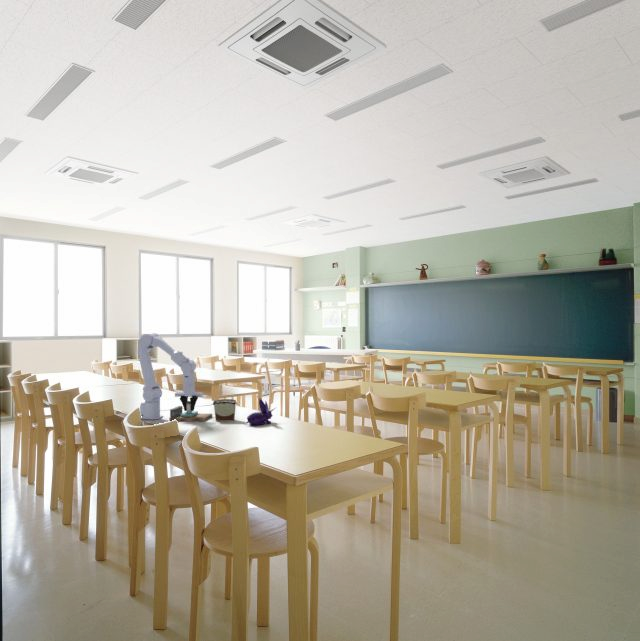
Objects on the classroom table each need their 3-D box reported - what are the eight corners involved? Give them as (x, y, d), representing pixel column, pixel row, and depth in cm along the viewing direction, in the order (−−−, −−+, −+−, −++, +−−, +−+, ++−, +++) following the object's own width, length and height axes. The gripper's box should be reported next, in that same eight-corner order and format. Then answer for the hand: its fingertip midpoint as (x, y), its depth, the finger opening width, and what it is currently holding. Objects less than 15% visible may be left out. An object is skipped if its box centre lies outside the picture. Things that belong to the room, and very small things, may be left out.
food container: (240, 418, 250) (239, 398, 250) (236, 420, 244) (236, 400, 243) (216, 418, 251) (216, 398, 251) (212, 420, 245) (212, 400, 245)
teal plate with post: (180, 416, 247) (180, 402, 247) (187, 413, 255) (186, 400, 255) (191, 416, 246) (191, 402, 246) (197, 413, 254) (197, 400, 254)
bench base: (169, 421, 245) (169, 409, 245) (179, 416, 257) (179, 405, 257) (203, 421, 243) (203, 410, 243) (212, 416, 255) (212, 406, 255)
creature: (281, 422, 238) (281, 397, 238) (249, 428, 227) (248, 401, 227) (272, 419, 245) (271, 395, 245) (240, 424, 234) (239, 399, 234)
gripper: (205, 383, 253) (205, 409, 253) (178, 383, 255) (179, 409, 255) (199, 385, 246) (200, 412, 246) (172, 385, 248) (173, 411, 248)
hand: (189, 410), depth 250 cm, fingers closed on teal plate with post, 3 cm apart
